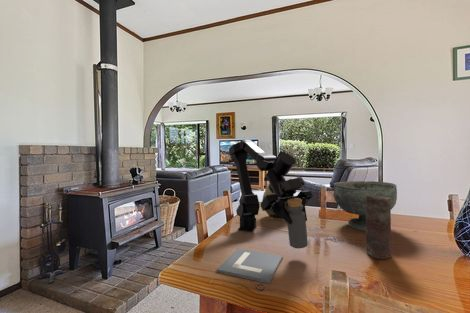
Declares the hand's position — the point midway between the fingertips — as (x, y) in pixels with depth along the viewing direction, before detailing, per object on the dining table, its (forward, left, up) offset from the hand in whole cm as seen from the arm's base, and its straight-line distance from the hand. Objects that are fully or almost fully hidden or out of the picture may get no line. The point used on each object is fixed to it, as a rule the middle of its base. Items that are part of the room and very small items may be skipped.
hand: (298, 222), depth 78 cm
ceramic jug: (-18, +43, -12) cm, 48 cm away
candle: (+24, +14, -12) cm, 30 cm away
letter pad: (-13, -9, -12) cm, 20 cm away
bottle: (0, +2, -8) cm, 8 cm away
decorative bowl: (+22, +45, -12) cm, 52 cm away
